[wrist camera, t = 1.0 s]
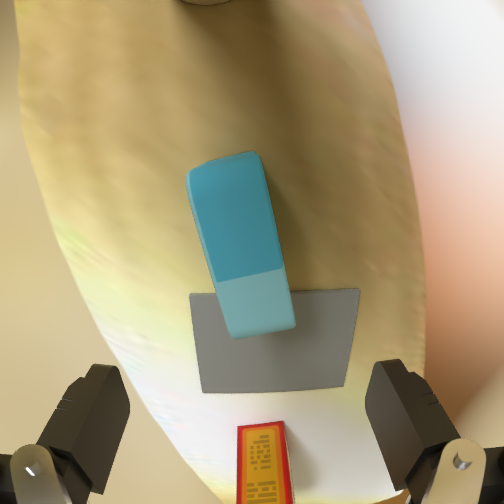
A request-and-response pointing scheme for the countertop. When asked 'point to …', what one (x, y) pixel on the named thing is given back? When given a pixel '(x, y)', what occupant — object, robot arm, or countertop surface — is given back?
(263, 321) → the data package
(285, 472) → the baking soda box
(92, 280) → the countertop surface
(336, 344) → the rubber mat
